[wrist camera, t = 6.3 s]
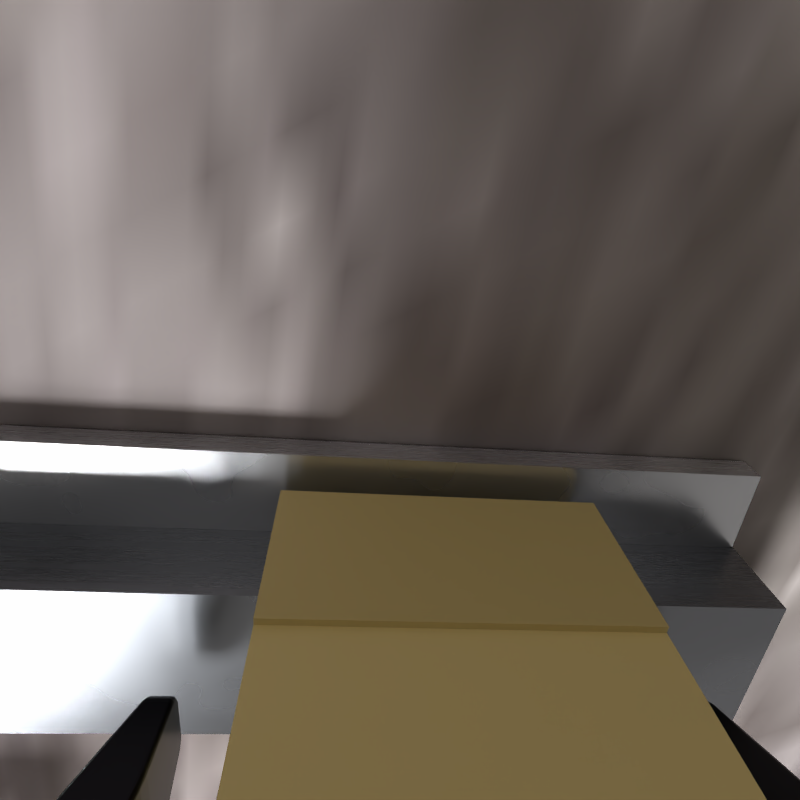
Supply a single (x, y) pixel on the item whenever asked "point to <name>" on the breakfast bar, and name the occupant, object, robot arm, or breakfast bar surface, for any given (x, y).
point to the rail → (248, 545)
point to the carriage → (464, 662)
